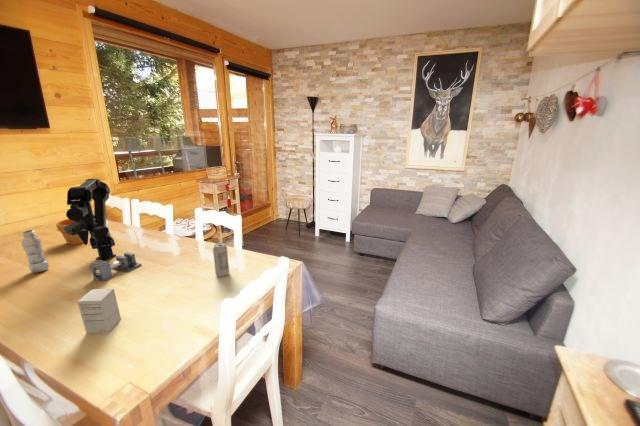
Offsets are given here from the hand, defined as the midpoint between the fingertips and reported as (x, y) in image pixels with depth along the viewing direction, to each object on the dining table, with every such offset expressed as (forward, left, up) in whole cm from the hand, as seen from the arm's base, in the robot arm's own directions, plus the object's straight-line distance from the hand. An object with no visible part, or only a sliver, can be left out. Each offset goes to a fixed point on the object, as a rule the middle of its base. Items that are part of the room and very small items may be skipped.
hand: (92, 246), depth 133 cm
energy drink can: (+59, +17, -12) cm, 63 cm away
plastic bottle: (-23, -11, -12) cm, 28 cm away
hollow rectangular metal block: (+11, -5, -12) cm, 17 cm away
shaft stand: (+11, +1, -12) cm, 16 cm away
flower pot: (-45, +18, -12) cm, 50 cm away
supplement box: (+44, -27, -12) cm, 53 cm away
